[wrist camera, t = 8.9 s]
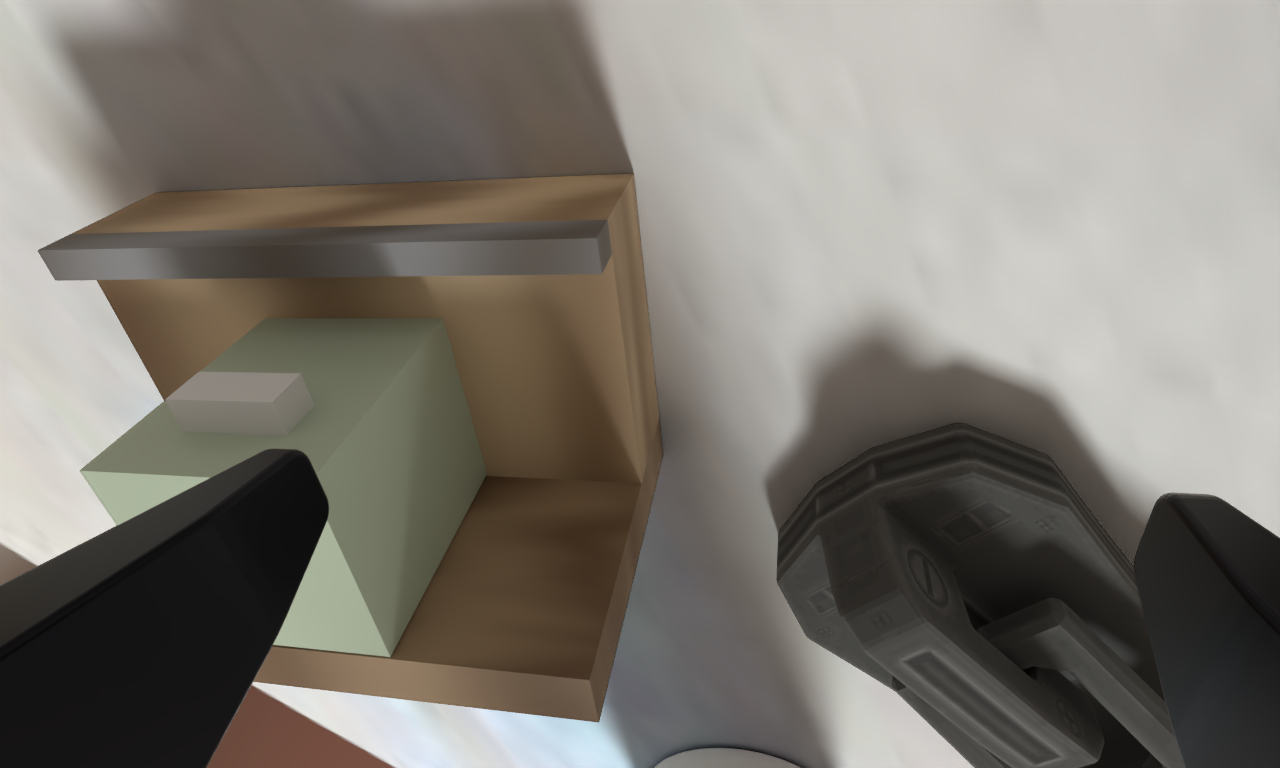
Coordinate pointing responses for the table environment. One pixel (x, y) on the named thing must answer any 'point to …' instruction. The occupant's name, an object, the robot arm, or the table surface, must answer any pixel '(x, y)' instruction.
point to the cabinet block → (325, 459)
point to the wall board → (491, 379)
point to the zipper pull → (981, 602)
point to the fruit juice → (723, 759)
